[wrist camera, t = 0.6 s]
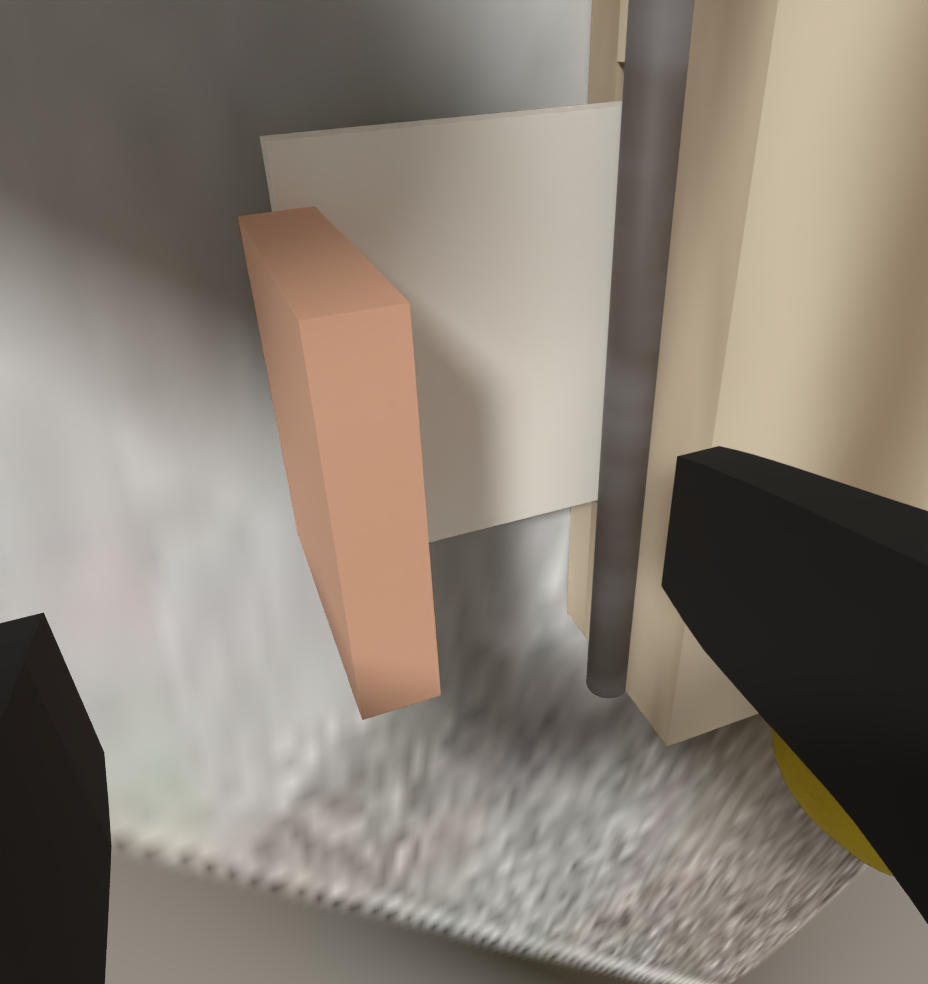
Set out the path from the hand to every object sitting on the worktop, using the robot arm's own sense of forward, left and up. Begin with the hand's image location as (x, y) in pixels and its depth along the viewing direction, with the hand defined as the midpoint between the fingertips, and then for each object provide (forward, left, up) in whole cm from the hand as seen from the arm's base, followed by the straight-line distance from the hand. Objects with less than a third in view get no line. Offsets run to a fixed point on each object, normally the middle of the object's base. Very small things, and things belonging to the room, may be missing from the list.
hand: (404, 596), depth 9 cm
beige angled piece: (-7, 0, -7) cm, 10 cm away
